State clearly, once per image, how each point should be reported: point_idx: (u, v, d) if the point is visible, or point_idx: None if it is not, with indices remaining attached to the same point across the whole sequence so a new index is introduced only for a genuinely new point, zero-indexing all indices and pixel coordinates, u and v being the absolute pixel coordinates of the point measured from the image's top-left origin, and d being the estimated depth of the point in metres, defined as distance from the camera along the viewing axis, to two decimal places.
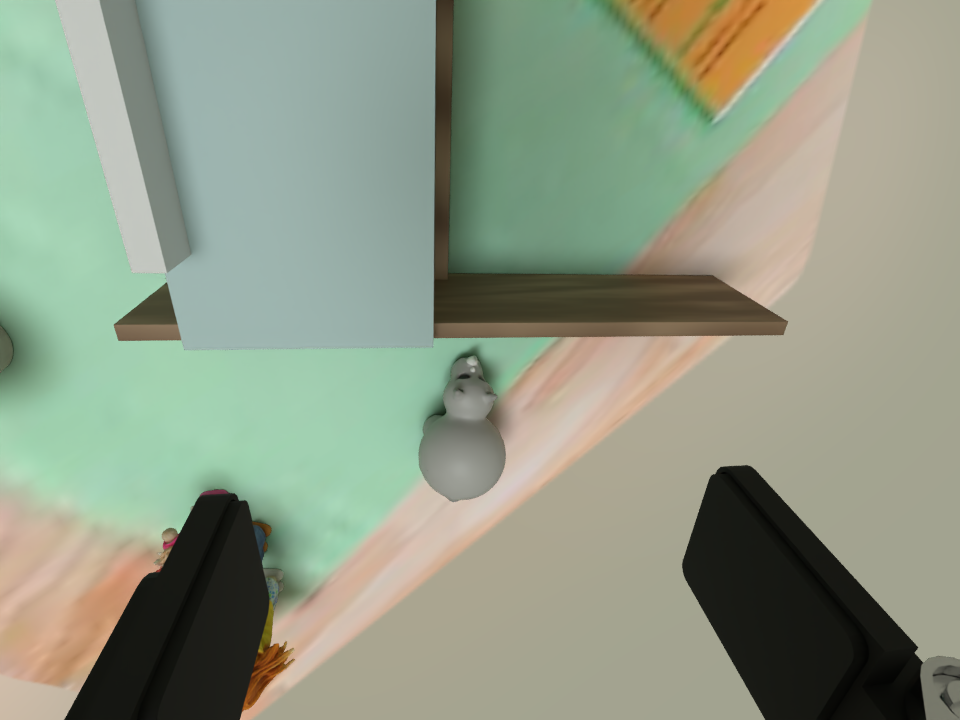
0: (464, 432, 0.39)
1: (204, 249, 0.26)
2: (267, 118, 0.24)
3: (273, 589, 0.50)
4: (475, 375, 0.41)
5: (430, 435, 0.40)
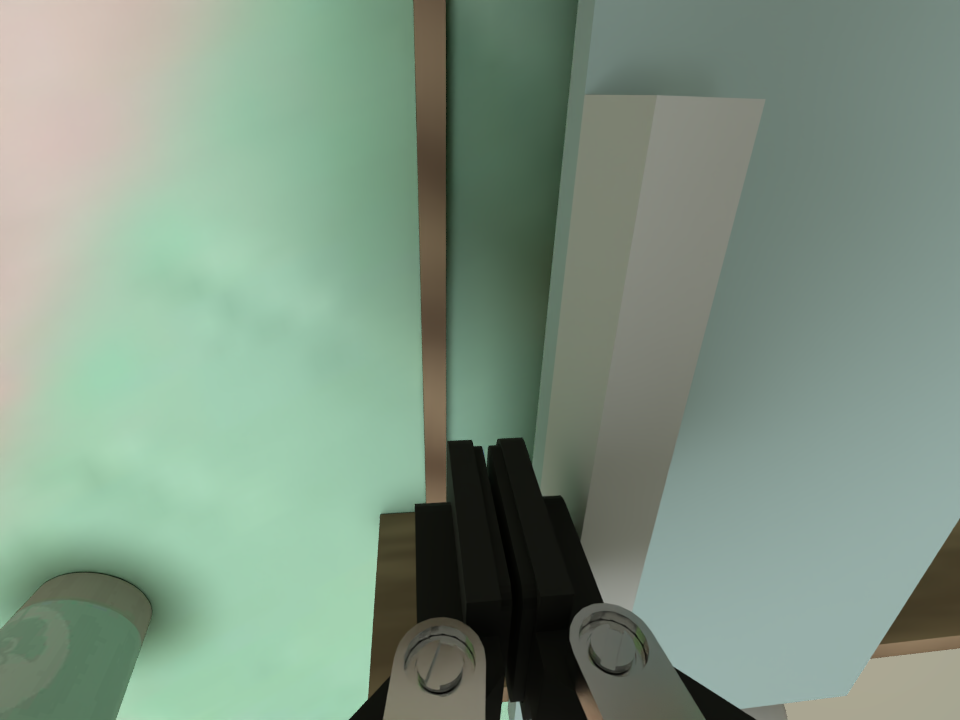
0: None
1: None
2: (754, 481, 0.14)
3: None
4: None
5: None
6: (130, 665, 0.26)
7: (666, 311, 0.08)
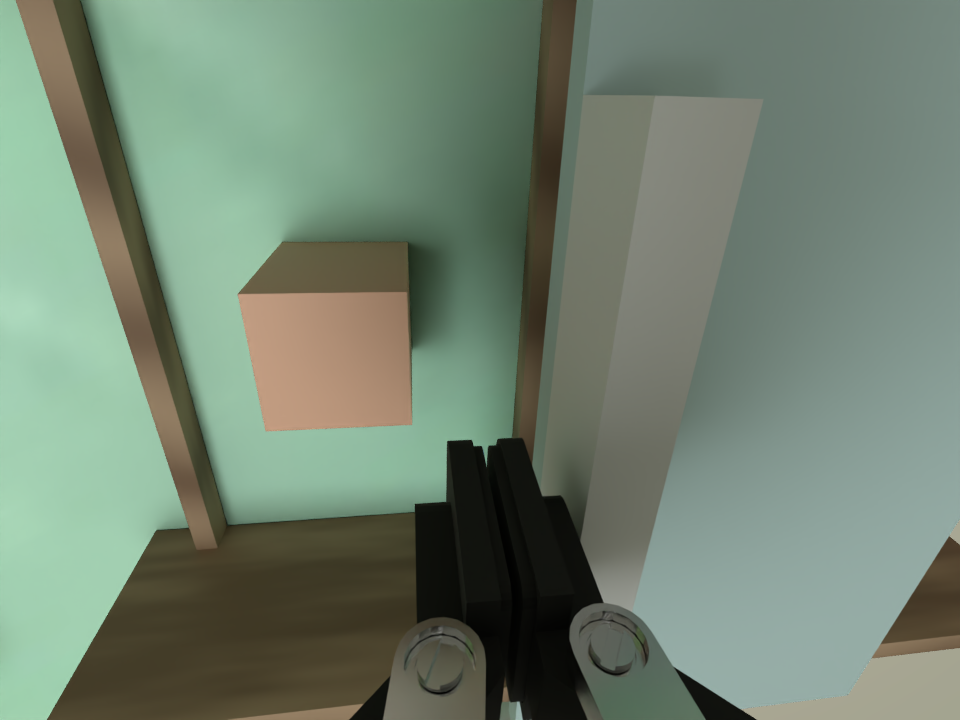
0: None
1: None
2: (753, 480, 0.14)
3: None
4: None
5: None
6: None
7: (665, 311, 0.08)
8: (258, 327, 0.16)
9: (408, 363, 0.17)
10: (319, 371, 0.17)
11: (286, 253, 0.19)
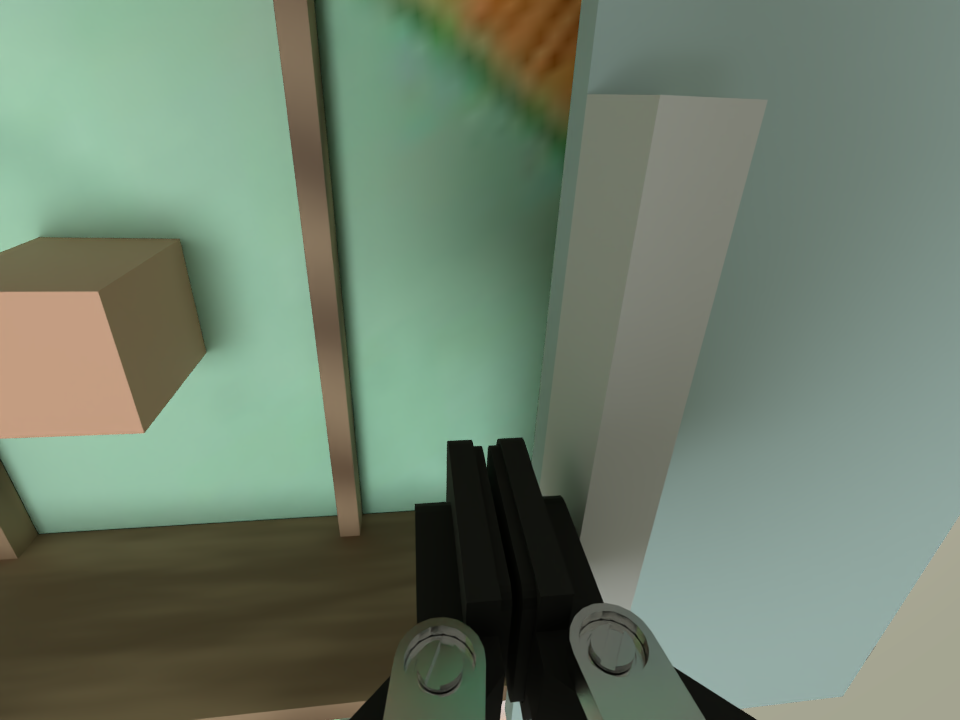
0: None
1: None
2: (752, 480, 0.14)
3: None
4: None
5: None
6: None
7: (667, 310, 0.08)
8: None
9: (121, 368, 0.16)
10: (21, 376, 0.15)
11: (24, 249, 0.18)
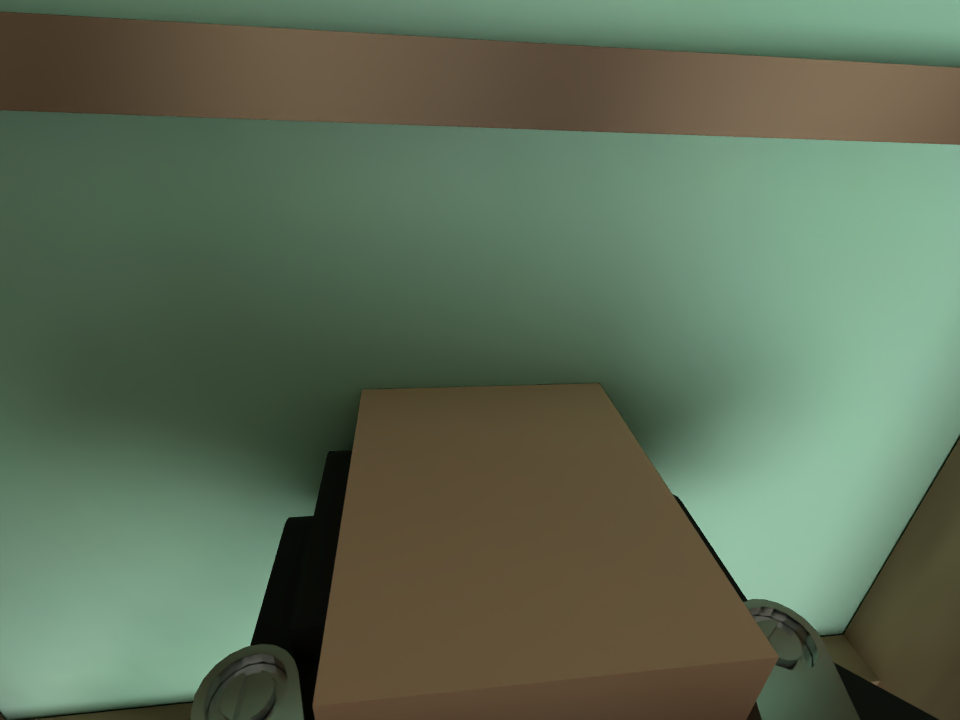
0: None
1: None
2: None
3: None
4: None
5: None
6: None
7: None
8: None
9: (561, 684, 0.05)
10: None
11: None
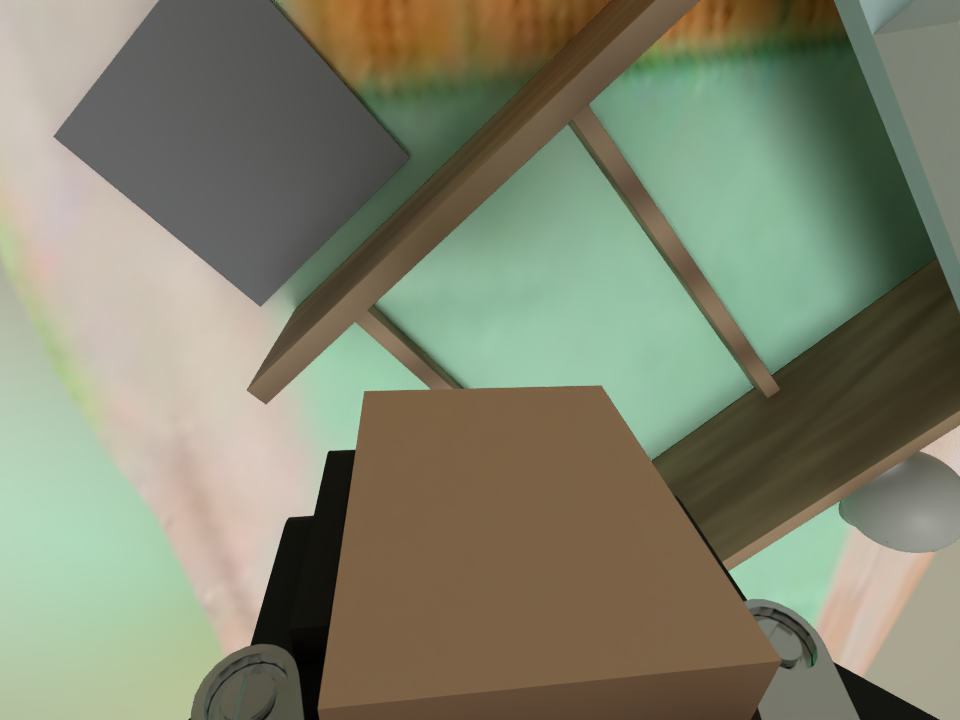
0: (901, 488, 0.33)
1: None
2: None
3: None
4: None
5: (860, 507, 0.35)
6: None
7: None
8: None
9: (565, 687, 0.05)
10: None
11: None
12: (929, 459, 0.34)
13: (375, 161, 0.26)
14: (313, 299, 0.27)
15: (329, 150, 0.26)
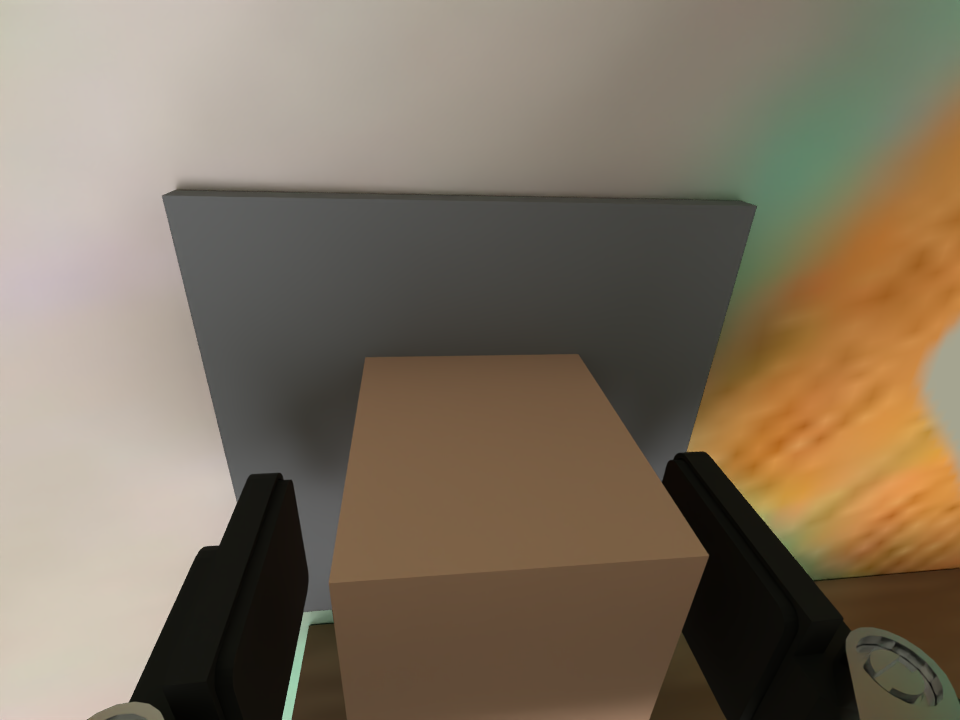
0: None
1: None
2: None
3: None
4: None
5: None
6: None
7: None
8: None
9: (529, 572, 0.06)
10: (525, 697, 0.08)
11: None
12: None
13: None
14: None
15: None
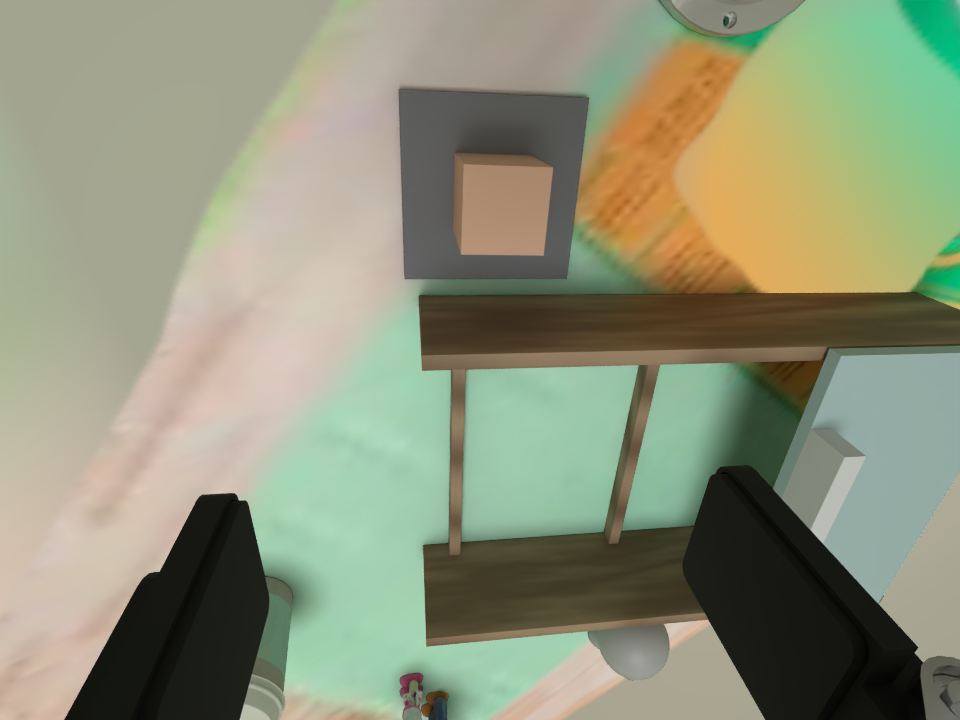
0: (642, 631, 0.50)
1: None
2: (841, 526, 0.39)
3: None
4: None
5: (612, 631, 0.51)
6: (289, 626, 0.48)
7: (838, 493, 0.33)
8: (479, 248, 0.30)
9: (509, 166, 0.28)
10: (509, 219, 0.29)
11: (455, 228, 0.33)
12: None
13: (549, 264, 0.37)
14: (453, 310, 0.35)
15: None
